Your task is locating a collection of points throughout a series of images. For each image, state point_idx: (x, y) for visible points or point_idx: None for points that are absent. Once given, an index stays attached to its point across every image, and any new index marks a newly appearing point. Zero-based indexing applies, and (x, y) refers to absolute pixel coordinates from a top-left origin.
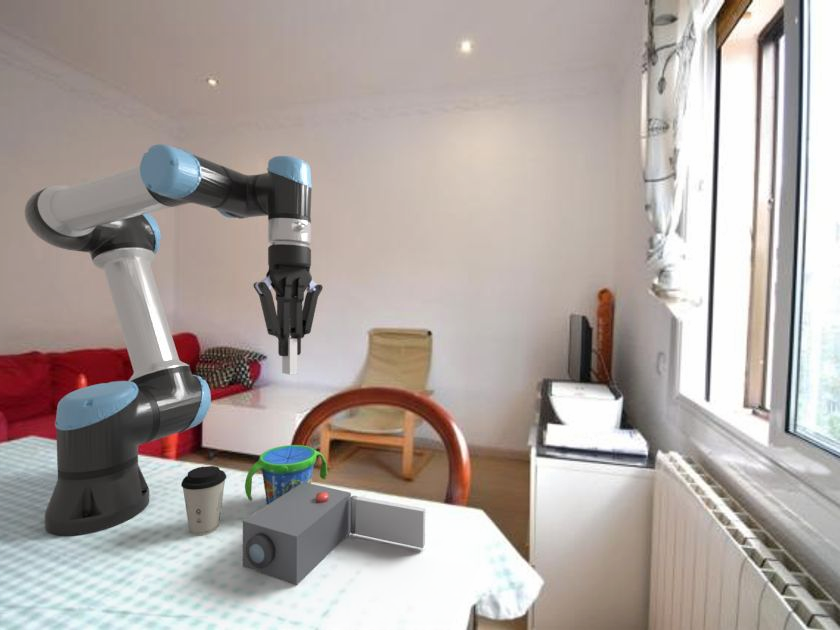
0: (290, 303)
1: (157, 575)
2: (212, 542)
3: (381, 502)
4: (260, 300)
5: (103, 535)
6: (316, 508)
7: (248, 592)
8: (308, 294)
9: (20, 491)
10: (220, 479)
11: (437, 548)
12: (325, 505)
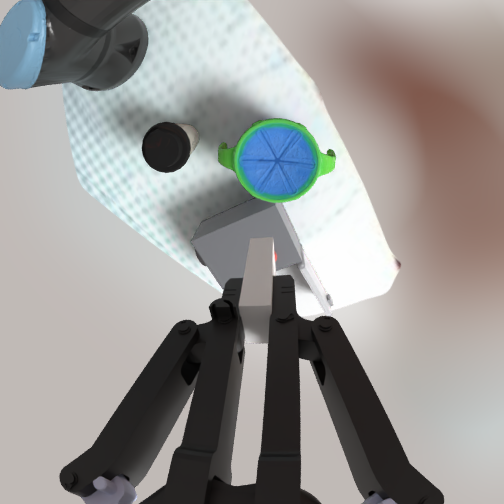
0: (261, 445)
1: (145, 190)
2: (187, 169)
3: (313, 288)
4: (103, 430)
5: (110, 99)
6: None
7: None
8: (370, 486)
9: None
10: (179, 166)
11: (334, 297)
12: None
